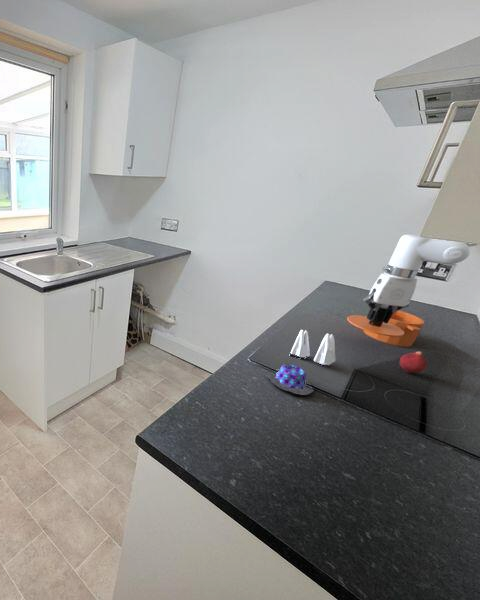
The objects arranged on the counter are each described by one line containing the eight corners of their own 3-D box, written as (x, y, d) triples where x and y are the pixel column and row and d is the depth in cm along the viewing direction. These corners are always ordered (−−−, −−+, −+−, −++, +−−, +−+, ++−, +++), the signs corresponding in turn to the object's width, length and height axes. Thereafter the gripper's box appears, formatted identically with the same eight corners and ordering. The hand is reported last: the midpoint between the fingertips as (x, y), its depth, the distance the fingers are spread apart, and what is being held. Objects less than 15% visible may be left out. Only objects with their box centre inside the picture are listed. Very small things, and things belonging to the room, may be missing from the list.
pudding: (314, 403, 84) (320, 388, 82) (264, 386, 90) (269, 371, 88) (312, 381, 93) (318, 366, 91) (267, 367, 99) (272, 353, 97)
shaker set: (333, 365, 102) (346, 336, 98) (332, 371, 99) (345, 341, 95) (291, 351, 109) (301, 323, 105) (289, 355, 106) (299, 327, 102)
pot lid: (382, 320, 118) (392, 301, 115) (415, 341, 104) (427, 319, 101) (337, 315, 121) (345, 296, 118) (363, 334, 107) (373, 313, 103)
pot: (389, 327, 131) (400, 307, 127) (428, 352, 113) (442, 330, 109) (351, 323, 133) (360, 303, 130) (383, 347, 115) (395, 324, 112)
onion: (400, 375, 99) (412, 353, 96) (391, 365, 104) (402, 345, 101) (423, 380, 97) (436, 358, 94) (413, 370, 102) (425, 349, 99)
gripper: (380, 272, 102) (357, 322, 109) (438, 278, 99) (411, 328, 107) (365, 266, 109) (345, 313, 116) (419, 271, 106) (395, 319, 114)
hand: (377, 320), depth 111 cm, fingers closed on pot lid, 3 cm apart
